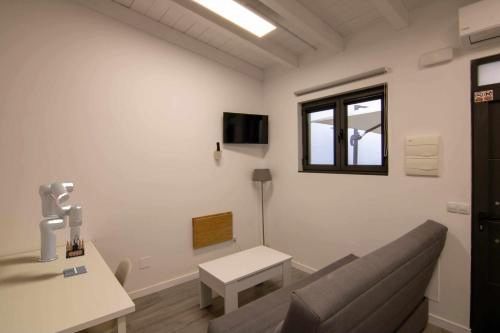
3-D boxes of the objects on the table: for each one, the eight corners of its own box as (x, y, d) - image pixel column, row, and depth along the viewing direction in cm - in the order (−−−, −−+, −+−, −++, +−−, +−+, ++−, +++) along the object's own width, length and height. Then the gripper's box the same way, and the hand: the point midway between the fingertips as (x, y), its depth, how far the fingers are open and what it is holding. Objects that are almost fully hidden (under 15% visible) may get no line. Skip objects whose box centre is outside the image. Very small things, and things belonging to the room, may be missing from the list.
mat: (63, 270, 175) (63, 269, 175) (84, 266, 183) (84, 265, 183) (65, 277, 165) (65, 276, 165) (86, 272, 172) (86, 271, 172)
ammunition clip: (84, 254, 178) (84, 237, 178) (84, 255, 177) (84, 238, 177) (65, 258, 171) (65, 240, 171) (65, 258, 170) (66, 241, 170)
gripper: (68, 222, 178) (67, 248, 178) (69, 226, 166) (69, 254, 166) (80, 221, 183) (80, 246, 183) (83, 225, 170) (83, 252, 170)
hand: (75, 250), depth 174 cm, fingers closed on ammunition clip, 1 cm apart
